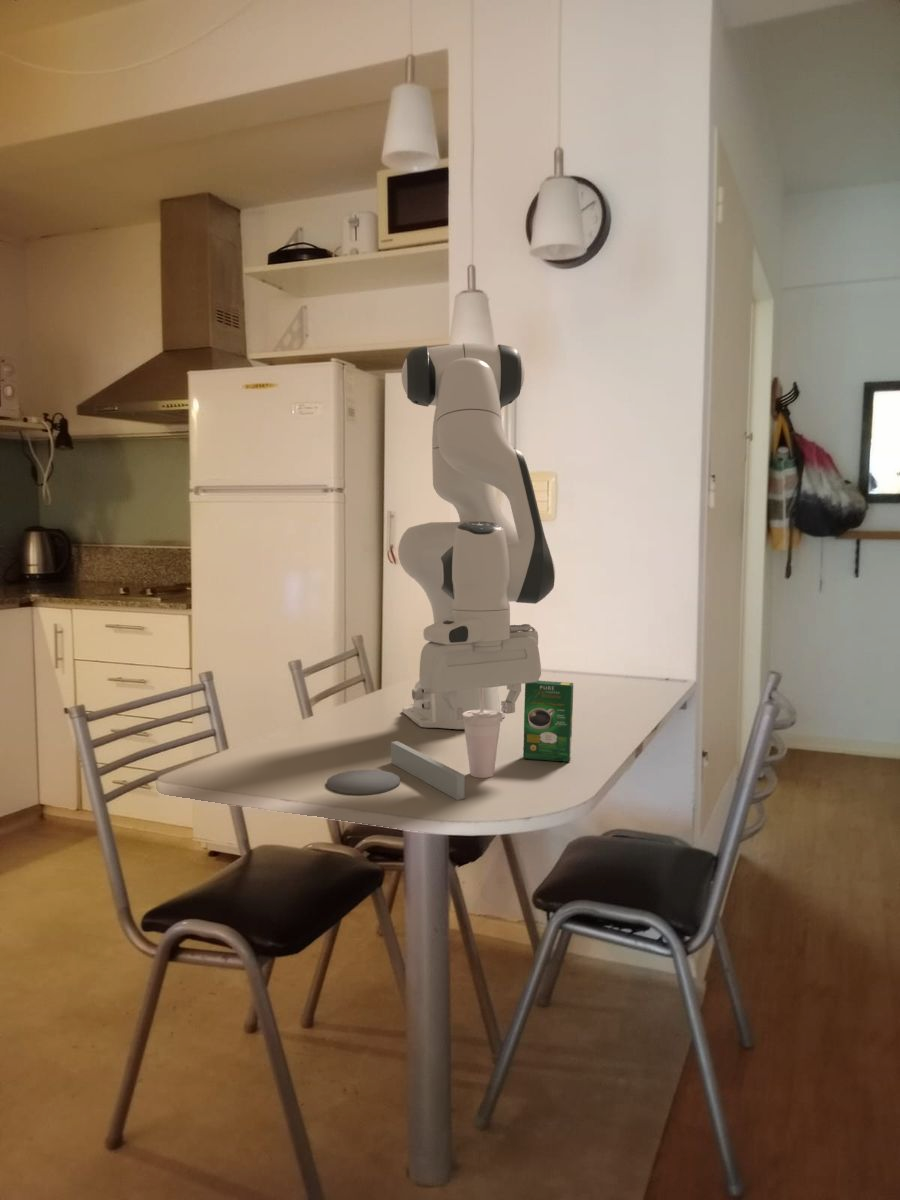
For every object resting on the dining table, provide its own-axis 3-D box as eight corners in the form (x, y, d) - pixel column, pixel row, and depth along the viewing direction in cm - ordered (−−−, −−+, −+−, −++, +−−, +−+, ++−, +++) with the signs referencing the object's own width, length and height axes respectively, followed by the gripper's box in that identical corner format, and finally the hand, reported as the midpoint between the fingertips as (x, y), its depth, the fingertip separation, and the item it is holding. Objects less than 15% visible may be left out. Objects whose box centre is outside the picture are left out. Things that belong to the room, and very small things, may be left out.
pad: (316, 779, 139) (316, 776, 139) (381, 769, 144) (381, 766, 144) (343, 799, 129) (343, 795, 129) (412, 787, 135) (412, 784, 135)
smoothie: (500, 768, 144) (500, 682, 143) (504, 780, 138) (504, 690, 137) (460, 768, 144) (460, 682, 143) (462, 780, 138) (462, 690, 136)
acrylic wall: (391, 762, 148) (391, 741, 147) (397, 761, 148) (397, 741, 148) (457, 800, 129) (457, 776, 128) (464, 798, 129) (464, 774, 129)
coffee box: (573, 758, 150) (574, 680, 149) (571, 763, 147) (572, 684, 146) (525, 755, 152) (526, 678, 151) (522, 759, 149) (523, 681, 148)
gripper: (526, 621, 146) (527, 705, 147) (413, 630, 136) (415, 720, 137) (548, 624, 141) (549, 712, 142) (433, 633, 131) (434, 727, 132)
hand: (482, 716), depth 140 cm, fingers open, 8 cm apart
